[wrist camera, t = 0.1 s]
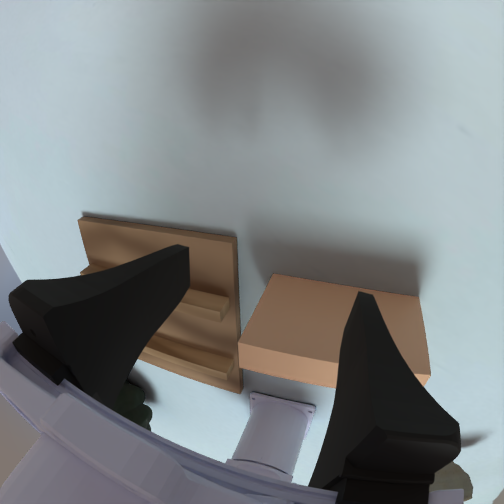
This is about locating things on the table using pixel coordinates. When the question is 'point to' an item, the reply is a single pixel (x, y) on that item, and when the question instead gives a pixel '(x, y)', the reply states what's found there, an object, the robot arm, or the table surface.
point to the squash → (133, 405)
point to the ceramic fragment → (452, 480)
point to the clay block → (322, 330)
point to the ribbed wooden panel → (193, 303)
